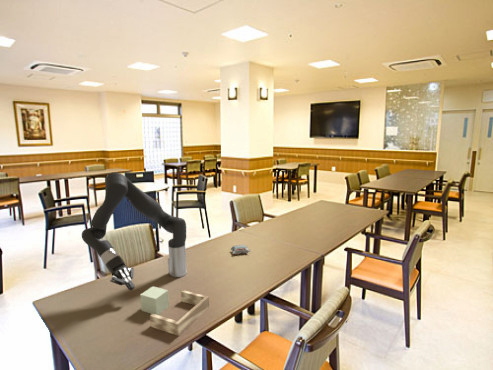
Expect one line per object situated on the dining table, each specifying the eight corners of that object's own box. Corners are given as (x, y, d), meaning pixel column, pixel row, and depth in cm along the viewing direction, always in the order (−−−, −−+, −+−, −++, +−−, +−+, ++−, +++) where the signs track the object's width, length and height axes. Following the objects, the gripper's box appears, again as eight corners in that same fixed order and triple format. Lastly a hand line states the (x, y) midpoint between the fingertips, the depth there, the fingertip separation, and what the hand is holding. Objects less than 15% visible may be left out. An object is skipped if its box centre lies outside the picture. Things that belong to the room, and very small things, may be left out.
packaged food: (250, 254, 194) (250, 247, 193) (232, 256, 191) (232, 249, 191) (247, 249, 202) (247, 243, 201) (230, 251, 200) (230, 244, 199)
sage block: (141, 310, 133) (140, 294, 131) (154, 301, 140) (152, 286, 138) (157, 315, 129) (155, 298, 128) (169, 306, 136) (168, 290, 135)
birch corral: (150, 326, 121) (149, 315, 120) (183, 299, 141) (183, 290, 140) (179, 336, 115) (178, 324, 114) (209, 306, 135) (208, 296, 134)
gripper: (103, 261, 135) (125, 291, 131) (126, 251, 146) (147, 278, 143) (97, 269, 138) (117, 299, 134) (120, 259, 149) (139, 286, 146)
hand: (132, 289), depth 139 cm, fingers closed
